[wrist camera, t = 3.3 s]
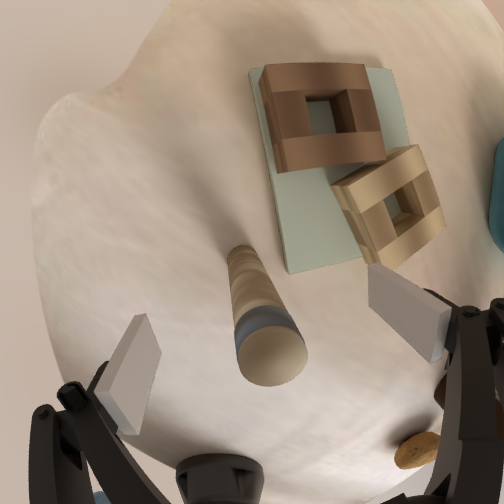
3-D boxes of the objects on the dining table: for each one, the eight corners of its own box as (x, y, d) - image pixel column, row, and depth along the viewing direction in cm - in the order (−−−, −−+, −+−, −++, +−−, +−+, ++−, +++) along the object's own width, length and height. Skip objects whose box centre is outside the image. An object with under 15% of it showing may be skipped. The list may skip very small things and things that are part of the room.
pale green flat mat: (286, 271, 27) (289, 274, 26) (248, 73, 22) (249, 69, 21) (413, 239, 28) (419, 241, 27) (386, 72, 23) (391, 69, 22)
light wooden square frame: (365, 263, 27) (385, 275, 23) (329, 185, 24) (347, 186, 21) (423, 221, 27) (446, 226, 23) (394, 147, 24) (418, 144, 20)
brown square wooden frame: (277, 173, 24) (288, 171, 20) (258, 81, 21) (265, 64, 18) (364, 162, 24) (386, 159, 20) (345, 77, 22) (364, 64, 18)
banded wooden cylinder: (230, 278, 27) (245, 393, 11) (223, 248, 26) (230, 340, 11) (261, 272, 27) (311, 377, 12) (255, 241, 26) (305, 322, 11)
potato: (402, 428, 38) (420, 454, 31) (440, 419, 41) (457, 440, 33) (376, 457, 40) (391, 482, 33) (417, 447, 43) (431, 468, 35)
